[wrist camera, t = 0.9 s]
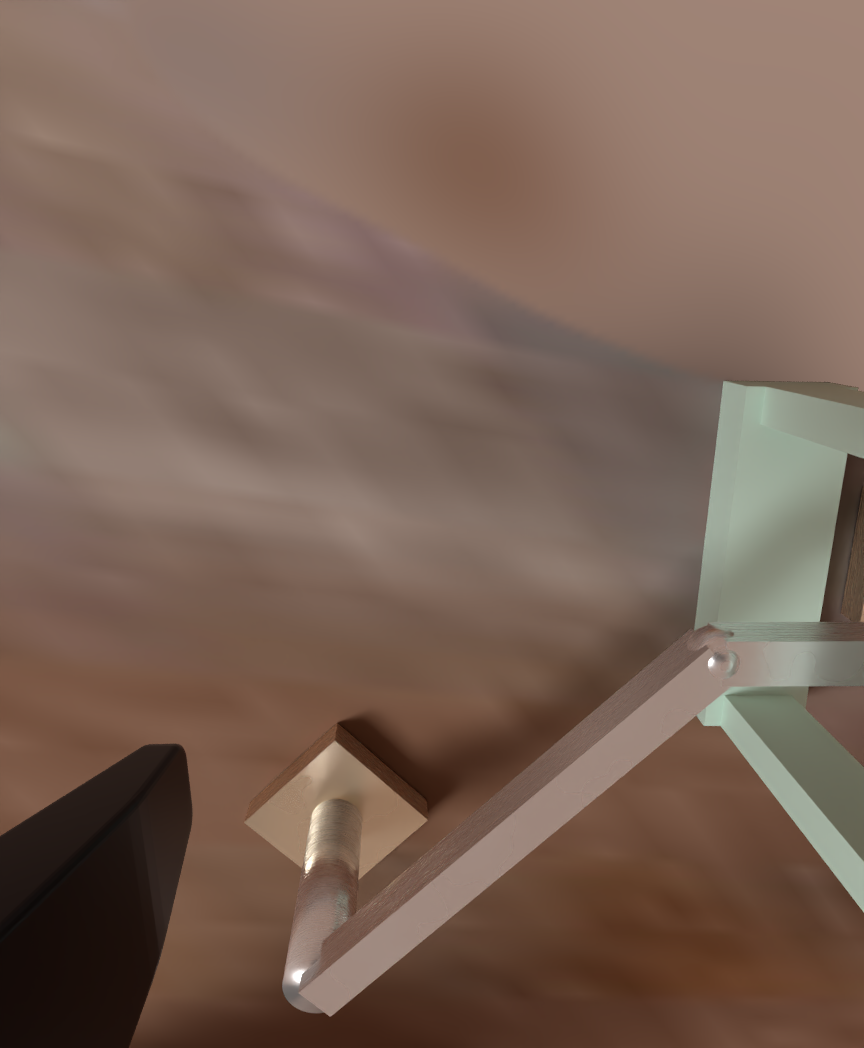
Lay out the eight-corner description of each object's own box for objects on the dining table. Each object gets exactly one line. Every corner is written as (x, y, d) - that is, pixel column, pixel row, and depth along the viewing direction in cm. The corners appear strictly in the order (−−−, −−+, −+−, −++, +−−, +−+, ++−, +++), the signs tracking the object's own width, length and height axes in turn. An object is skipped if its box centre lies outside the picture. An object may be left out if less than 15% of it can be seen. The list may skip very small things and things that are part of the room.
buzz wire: (1023, 597, 24) (1354, 665, 15) (307, 896, 26) (213, 1117, 17) (952, 437, 24) (1242, 406, 15) (239, 749, 26) (108, 891, 17)
